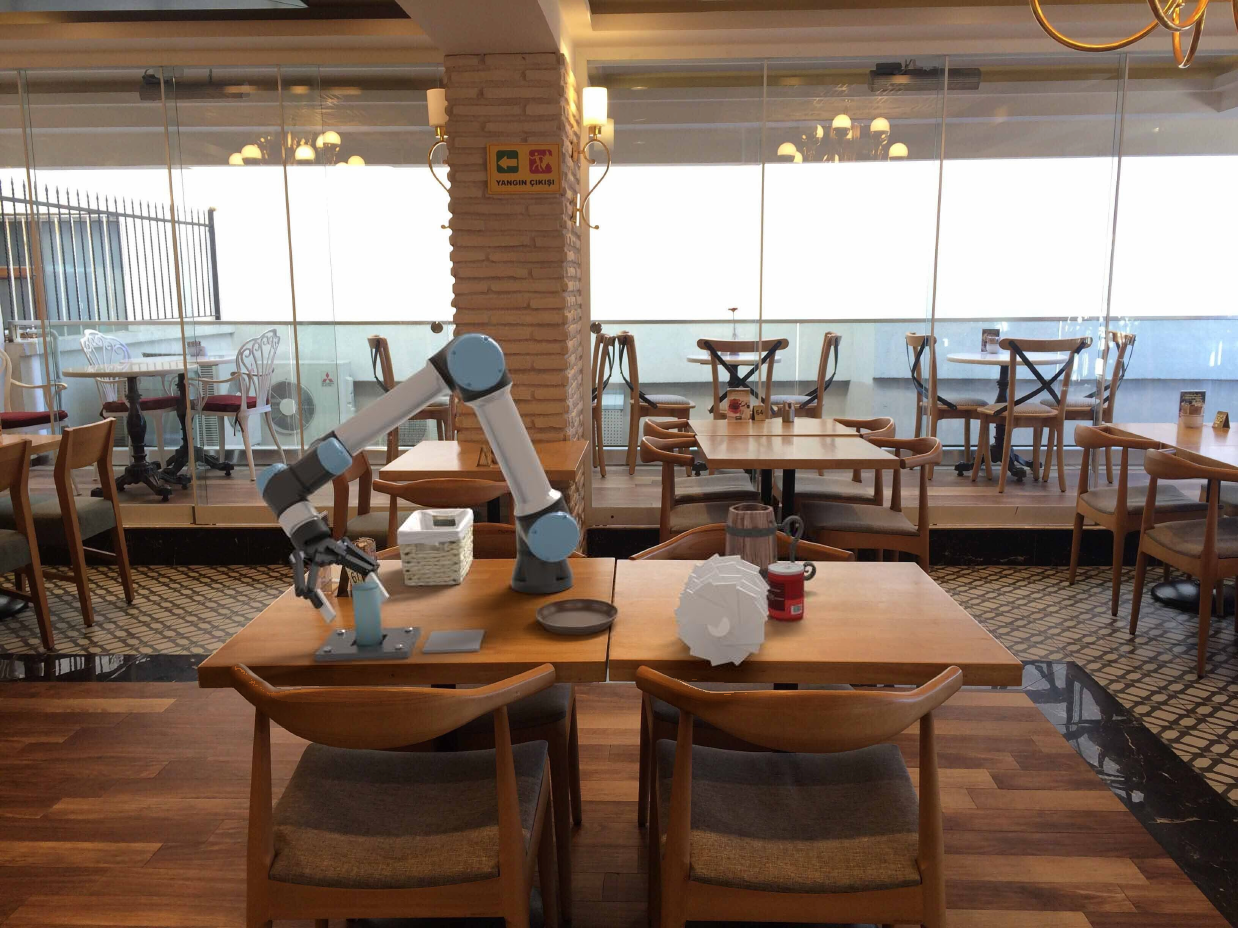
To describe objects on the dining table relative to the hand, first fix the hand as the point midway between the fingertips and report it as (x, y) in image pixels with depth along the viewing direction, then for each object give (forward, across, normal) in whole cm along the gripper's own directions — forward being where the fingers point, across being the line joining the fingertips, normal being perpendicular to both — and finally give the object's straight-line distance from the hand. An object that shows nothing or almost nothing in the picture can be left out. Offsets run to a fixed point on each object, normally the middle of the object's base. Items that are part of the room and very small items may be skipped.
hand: (359, 609), depth 190 cm
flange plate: (+7, -1, -4) cm, 8 cm away
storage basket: (-11, -47, -23) cm, 53 cm away
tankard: (+44, -74, +33) cm, 92 cm away
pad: (+16, -11, +5) cm, 20 cm away
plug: (+7, -1, -5) cm, 8 cm away
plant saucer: (+27, -33, +15) cm, 45 cm away
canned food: (+52, -59, +42) cm, 89 cm away
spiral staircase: (+51, -35, +40) cm, 73 cm away
